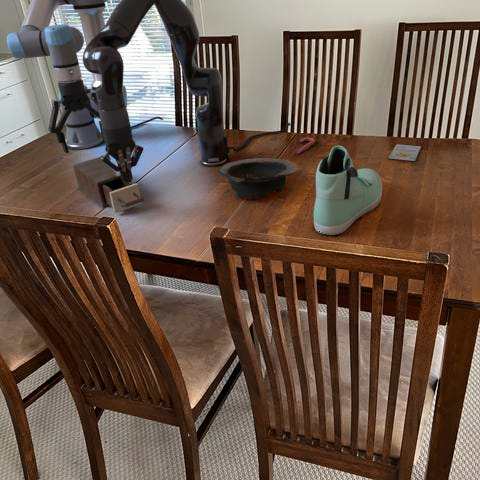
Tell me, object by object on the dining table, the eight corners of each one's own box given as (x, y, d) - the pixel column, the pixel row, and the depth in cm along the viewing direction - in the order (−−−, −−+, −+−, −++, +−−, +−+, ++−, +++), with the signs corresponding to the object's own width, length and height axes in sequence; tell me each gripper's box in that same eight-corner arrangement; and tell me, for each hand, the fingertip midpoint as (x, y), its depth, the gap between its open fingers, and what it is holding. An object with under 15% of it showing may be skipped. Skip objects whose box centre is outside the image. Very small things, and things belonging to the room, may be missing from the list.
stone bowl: (243, 213, 140) (240, 183, 136) (209, 189, 160) (205, 162, 156) (313, 190, 149) (312, 161, 144) (272, 170, 169) (270, 144, 165)
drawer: (150, 210, 145) (146, 190, 142) (123, 220, 141) (119, 199, 137) (115, 185, 162) (111, 167, 159) (90, 193, 158) (86, 175, 155)
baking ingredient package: (388, 157, 167) (396, 143, 178) (388, 158, 167) (396, 144, 179) (414, 160, 163) (421, 145, 175) (414, 161, 164) (421, 147, 175)
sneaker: (389, 187, 148) (396, 123, 138) (356, 242, 123) (361, 168, 112) (346, 181, 154) (350, 119, 144) (306, 232, 129) (307, 161, 118)
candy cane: (285, 152, 180) (284, 148, 179) (304, 139, 190) (304, 135, 189) (299, 154, 177) (299, 151, 176) (318, 141, 187) (318, 137, 186)
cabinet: (131, 197, 156) (126, 173, 151) (102, 207, 151) (96, 182, 146) (106, 179, 170) (101, 156, 166) (79, 187, 165) (72, 164, 161)
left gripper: (32, 90, 138) (52, 159, 149) (112, 74, 150) (125, 139, 161) (25, 86, 143) (45, 153, 154) (102, 70, 156) (116, 134, 167)
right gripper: (98, 132, 124) (112, 193, 133) (143, 120, 131) (154, 178, 140) (87, 126, 129) (101, 185, 138) (131, 115, 136) (142, 171, 145)
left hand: (86, 146), depth 158 cm, fingers open, 13 cm apart
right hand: (127, 181), depth 139 cm, fingers closed
